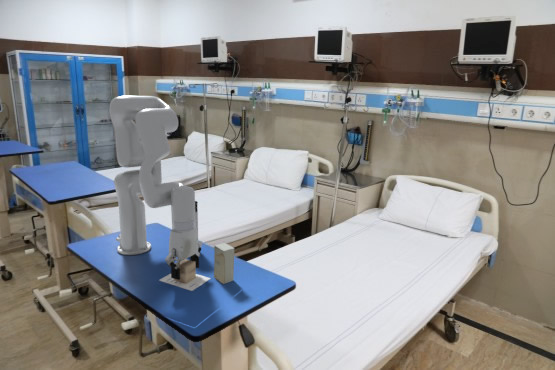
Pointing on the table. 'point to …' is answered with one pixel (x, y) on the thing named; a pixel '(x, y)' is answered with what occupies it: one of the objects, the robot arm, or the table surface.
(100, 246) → the table surface
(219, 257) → the skincare box
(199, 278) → the letter
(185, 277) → the block
